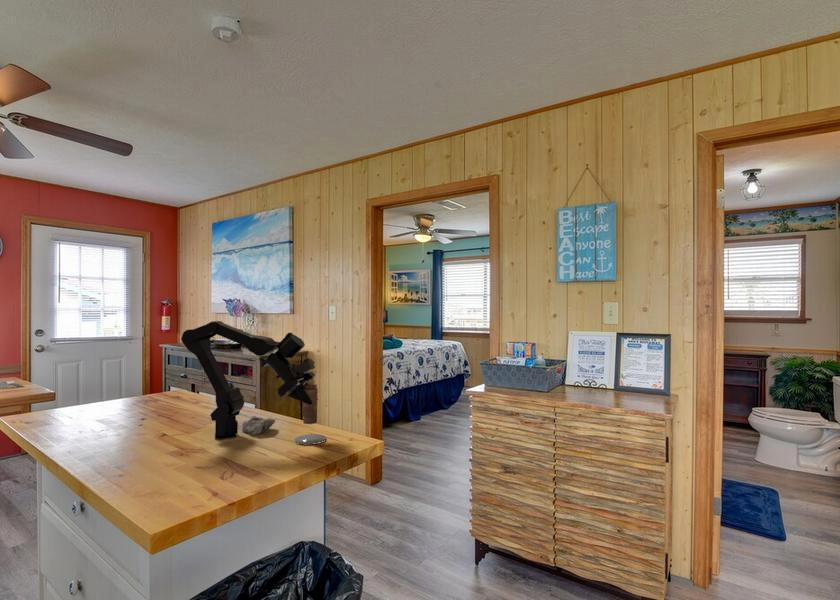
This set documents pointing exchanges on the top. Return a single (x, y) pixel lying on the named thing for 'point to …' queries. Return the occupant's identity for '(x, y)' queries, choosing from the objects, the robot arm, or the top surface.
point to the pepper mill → (311, 410)
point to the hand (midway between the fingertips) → (314, 402)
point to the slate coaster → (310, 439)
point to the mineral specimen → (257, 425)
